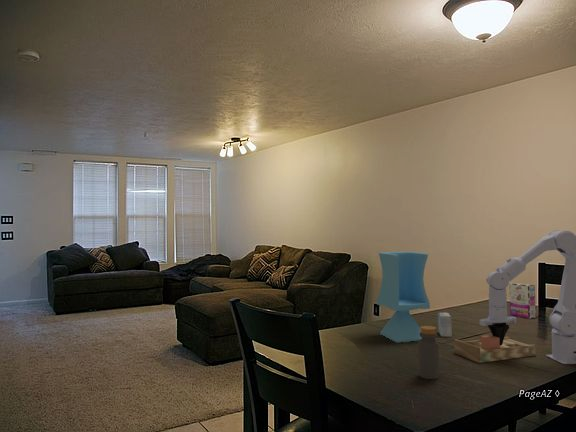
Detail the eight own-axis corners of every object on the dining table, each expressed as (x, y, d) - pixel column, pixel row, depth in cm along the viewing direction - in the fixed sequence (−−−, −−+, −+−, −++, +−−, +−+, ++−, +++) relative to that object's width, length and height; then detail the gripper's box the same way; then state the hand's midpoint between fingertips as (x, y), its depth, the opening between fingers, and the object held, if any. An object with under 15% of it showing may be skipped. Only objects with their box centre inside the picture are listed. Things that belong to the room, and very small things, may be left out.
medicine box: (451, 337, 185) (451, 316, 185) (440, 336, 186) (440, 315, 186) (448, 332, 193) (448, 312, 193) (438, 332, 194) (437, 312, 194)
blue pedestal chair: (395, 343, 175) (393, 254, 176) (377, 334, 190) (375, 252, 191) (430, 340, 180) (428, 253, 180) (409, 331, 195) (408, 251, 195)
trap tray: (507, 346, 170) (507, 333, 170) (535, 355, 158) (534, 341, 158) (454, 353, 162) (454, 339, 162) (479, 362, 150) (478, 347, 150)
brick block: (490, 346, 159) (490, 335, 159) (499, 349, 155) (499, 337, 155) (481, 347, 157) (480, 336, 157) (490, 351, 153) (489, 338, 153)
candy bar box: (536, 318, 219) (535, 284, 220) (529, 319, 217) (528, 285, 218) (516, 314, 229) (515, 282, 230) (509, 315, 227) (508, 282, 228)
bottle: (423, 371, 142) (422, 324, 142) (441, 375, 138) (440, 327, 138) (416, 376, 137) (415, 327, 138) (434, 380, 134) (433, 330, 134)
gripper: (505, 302, 164) (506, 340, 163) (473, 305, 159) (473, 343, 159) (521, 306, 157) (521, 344, 157) (487, 308, 152) (488, 348, 152)
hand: (498, 344), depth 157 cm, fingers closed
